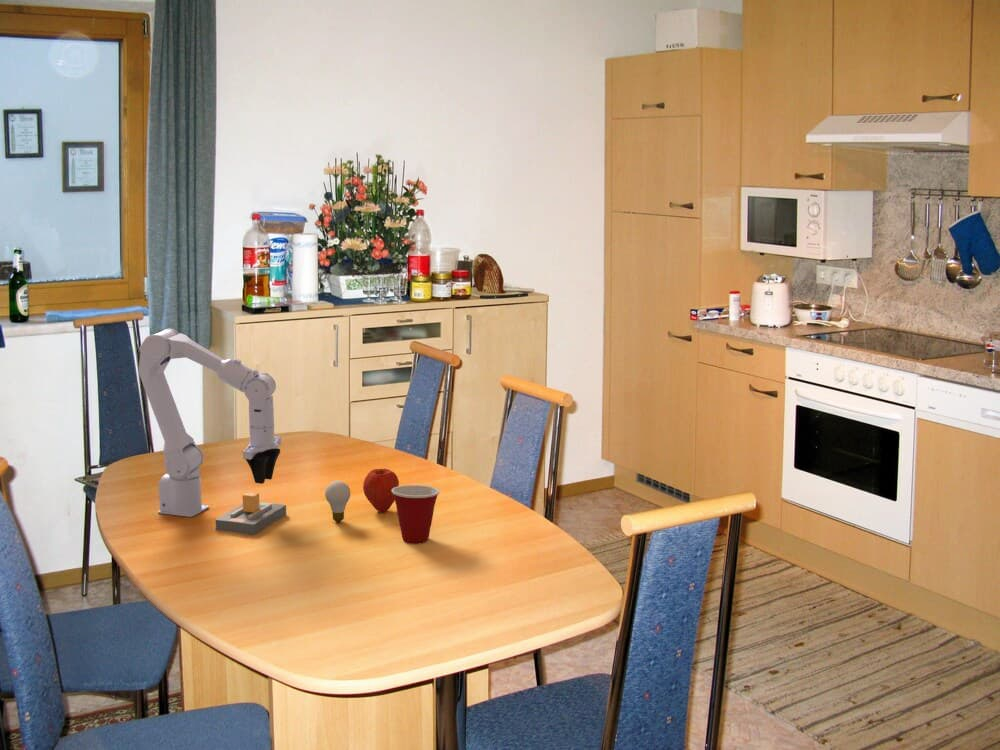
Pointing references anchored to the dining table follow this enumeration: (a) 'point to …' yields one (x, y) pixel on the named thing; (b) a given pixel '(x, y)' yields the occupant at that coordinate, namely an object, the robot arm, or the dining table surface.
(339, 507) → the light bulb
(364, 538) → the dining table surface
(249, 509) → the handle
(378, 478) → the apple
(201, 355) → the robot arm
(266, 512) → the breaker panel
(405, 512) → the plastic cup
